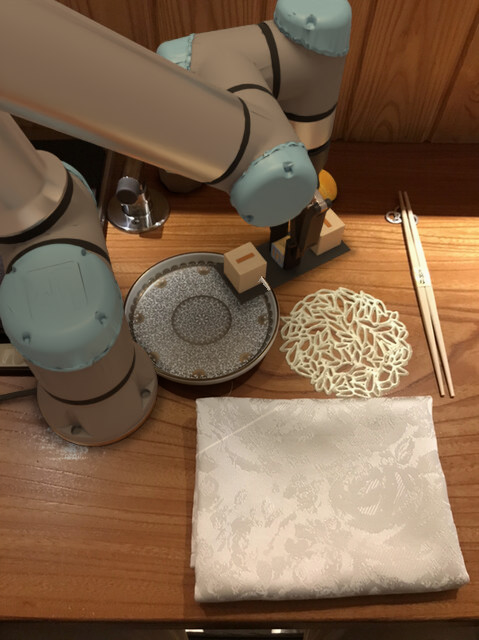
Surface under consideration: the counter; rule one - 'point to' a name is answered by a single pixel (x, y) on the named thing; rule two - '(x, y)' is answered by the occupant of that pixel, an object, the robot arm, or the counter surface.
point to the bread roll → (327, 186)
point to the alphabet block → (279, 250)
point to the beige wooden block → (329, 233)
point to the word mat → (281, 269)
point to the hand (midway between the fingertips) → (284, 256)
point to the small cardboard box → (244, 267)
